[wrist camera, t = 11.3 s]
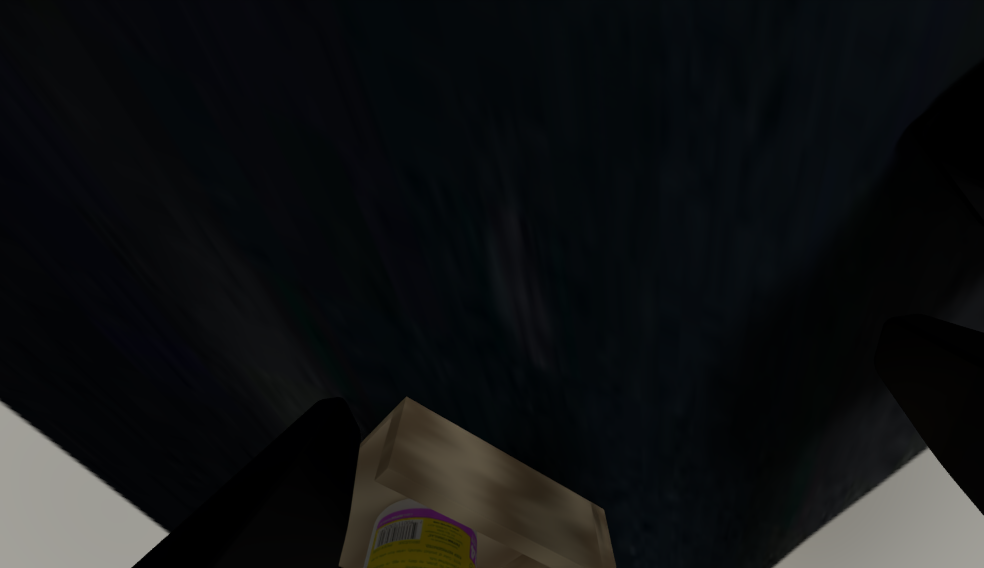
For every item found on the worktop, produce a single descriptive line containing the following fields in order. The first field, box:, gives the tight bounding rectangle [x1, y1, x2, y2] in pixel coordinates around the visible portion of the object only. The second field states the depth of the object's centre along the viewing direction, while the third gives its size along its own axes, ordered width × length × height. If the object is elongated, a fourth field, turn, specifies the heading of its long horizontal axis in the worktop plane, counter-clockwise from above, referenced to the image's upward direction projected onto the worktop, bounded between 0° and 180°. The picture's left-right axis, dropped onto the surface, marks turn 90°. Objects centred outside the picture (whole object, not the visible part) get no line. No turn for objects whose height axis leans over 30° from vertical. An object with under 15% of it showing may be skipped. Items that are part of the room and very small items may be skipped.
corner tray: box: [339, 397, 616, 568], centre depth 28 cm, size 15×16×4 cm
